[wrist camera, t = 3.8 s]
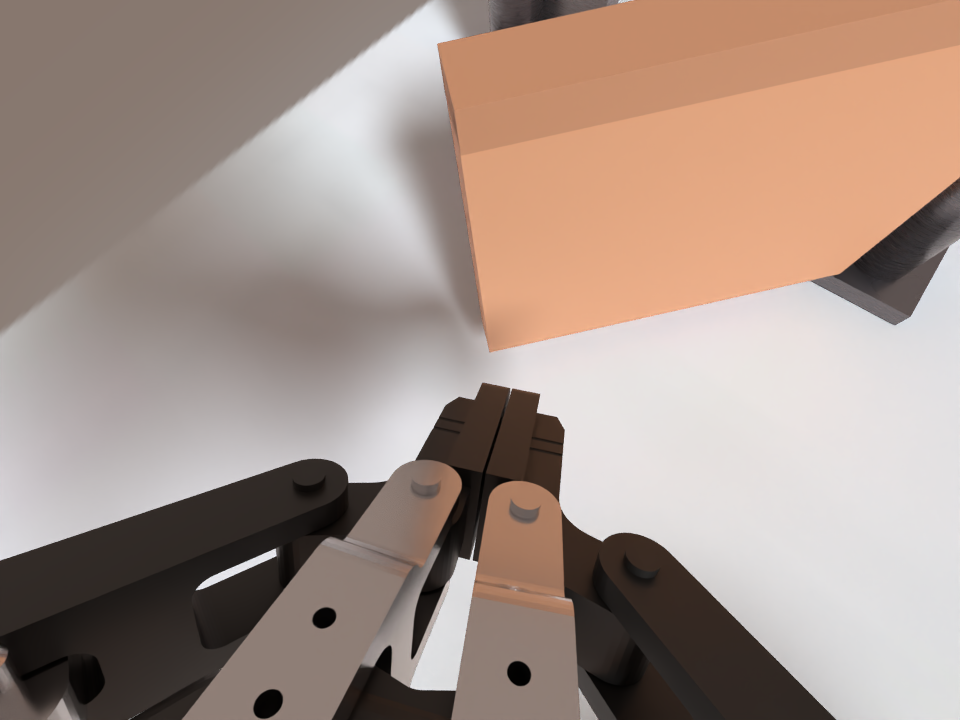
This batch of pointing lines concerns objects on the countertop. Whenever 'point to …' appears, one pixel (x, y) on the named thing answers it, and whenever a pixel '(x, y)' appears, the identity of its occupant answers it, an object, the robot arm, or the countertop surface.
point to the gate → (693, 150)
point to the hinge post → (901, 261)
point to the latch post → (536, 10)
